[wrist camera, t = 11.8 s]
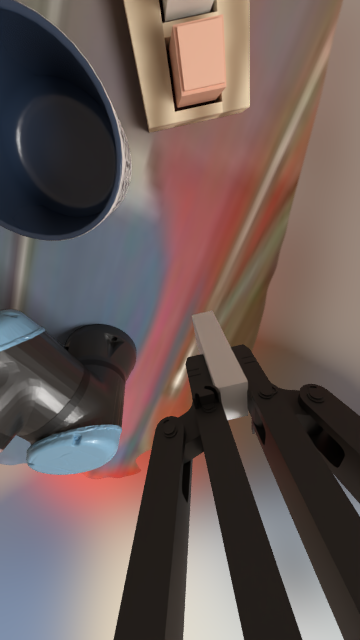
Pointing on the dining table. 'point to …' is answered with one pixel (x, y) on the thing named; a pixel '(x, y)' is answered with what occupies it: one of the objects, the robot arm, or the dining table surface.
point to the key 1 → (198, 60)
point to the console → (154, 72)
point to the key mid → (185, 8)
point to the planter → (54, 133)
